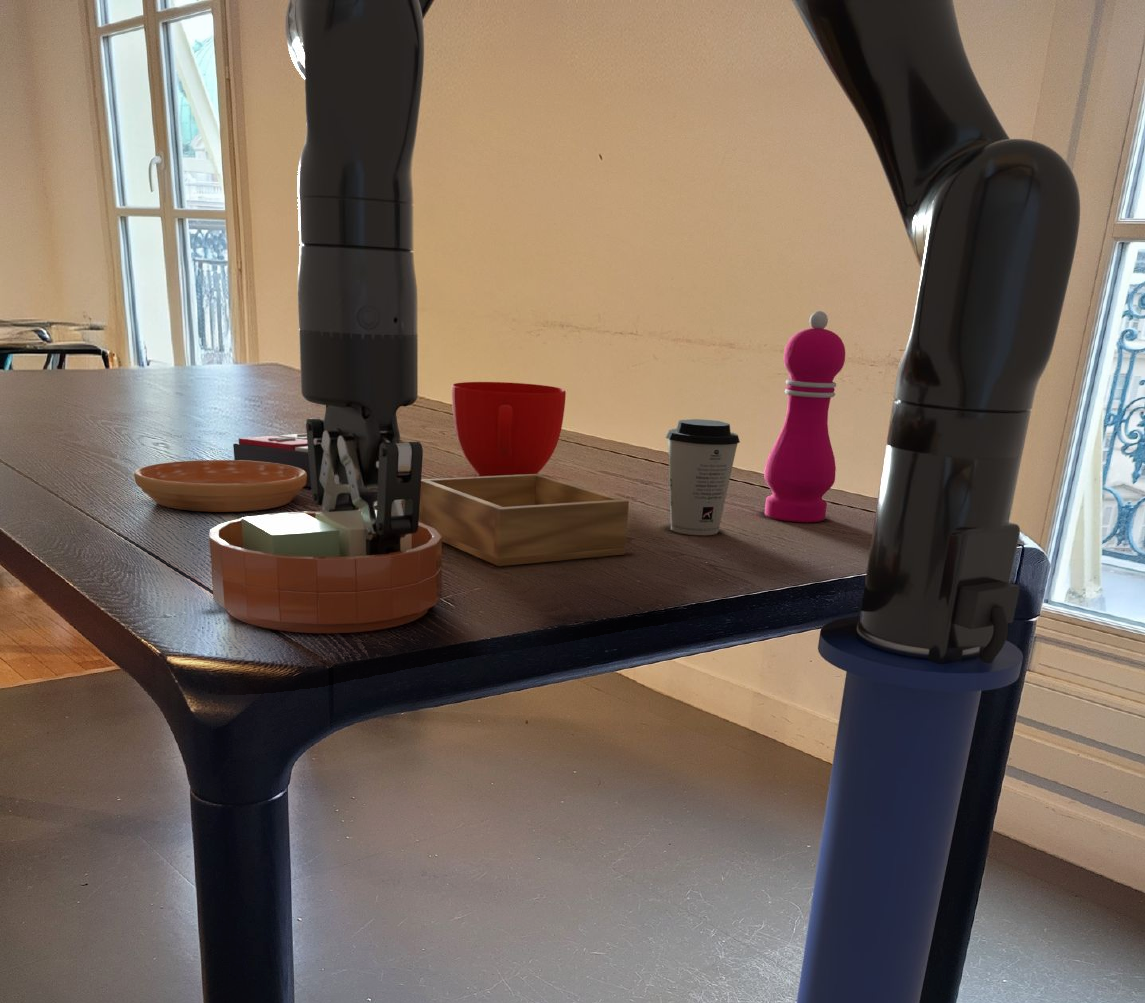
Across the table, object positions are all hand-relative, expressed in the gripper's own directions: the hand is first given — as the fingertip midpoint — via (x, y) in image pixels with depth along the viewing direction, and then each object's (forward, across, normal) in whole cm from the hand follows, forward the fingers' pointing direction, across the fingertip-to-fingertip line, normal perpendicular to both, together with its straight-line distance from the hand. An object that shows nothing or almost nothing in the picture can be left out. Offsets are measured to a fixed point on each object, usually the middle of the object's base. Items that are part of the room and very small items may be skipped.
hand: (363, 581), depth 80 cm
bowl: (+1, 0, +3) cm, 3 cm away
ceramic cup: (+2, +43, -36) cm, 56 cm away
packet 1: (+1, 0, +5) cm, 5 cm away
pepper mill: (+2, +14, -54) cm, 56 cm away
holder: (+1, +13, -20) cm, 24 cm away
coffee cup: (+2, +12, -39) cm, 41 cm away
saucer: (+2, +39, -2) cm, 39 cm away
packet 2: (+1, 0, 0) cm, 1 cm away
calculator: (+2, +51, -16) cm, 54 cm away
